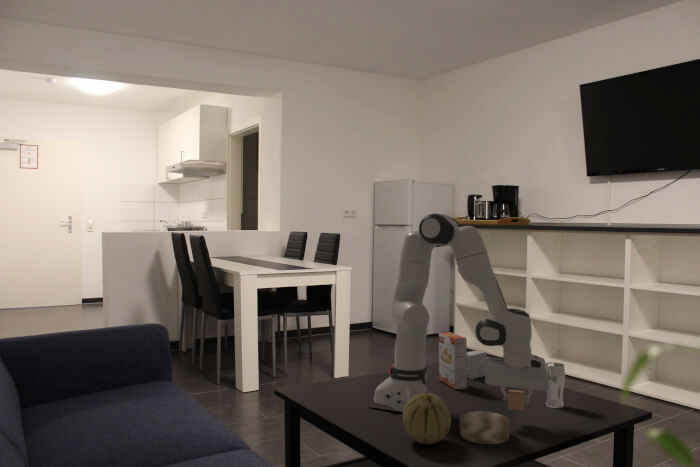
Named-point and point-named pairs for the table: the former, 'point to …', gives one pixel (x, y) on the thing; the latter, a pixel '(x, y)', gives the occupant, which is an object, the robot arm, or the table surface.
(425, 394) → the cantaloupe
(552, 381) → the beer glass
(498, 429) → the birch pedestal
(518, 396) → the terracotta cube
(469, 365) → the skincare box
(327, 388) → the table surface
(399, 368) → the robot arm
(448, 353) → the cracker box
